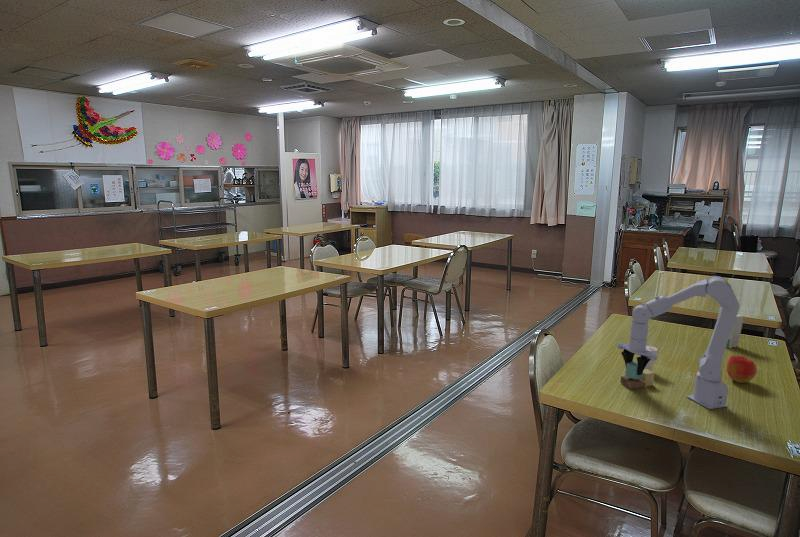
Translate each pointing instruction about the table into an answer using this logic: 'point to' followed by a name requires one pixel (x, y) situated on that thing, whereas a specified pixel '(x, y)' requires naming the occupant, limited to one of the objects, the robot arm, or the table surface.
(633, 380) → the walnut slab
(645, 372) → the mustard block
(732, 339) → the skincare box
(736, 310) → the robot arm
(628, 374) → the teal block
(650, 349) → the smoothie
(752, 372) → the apple
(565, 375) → the table surface
